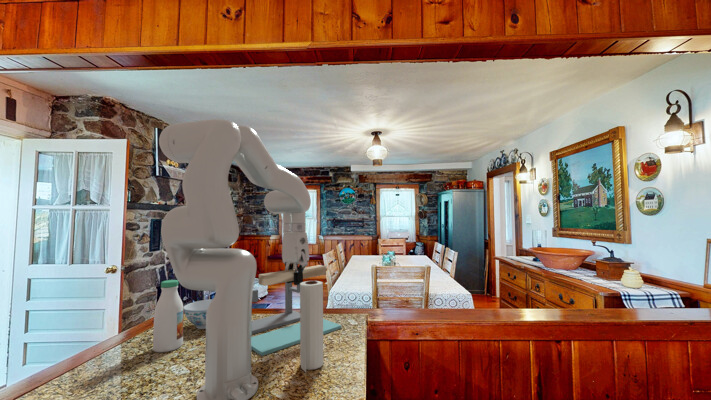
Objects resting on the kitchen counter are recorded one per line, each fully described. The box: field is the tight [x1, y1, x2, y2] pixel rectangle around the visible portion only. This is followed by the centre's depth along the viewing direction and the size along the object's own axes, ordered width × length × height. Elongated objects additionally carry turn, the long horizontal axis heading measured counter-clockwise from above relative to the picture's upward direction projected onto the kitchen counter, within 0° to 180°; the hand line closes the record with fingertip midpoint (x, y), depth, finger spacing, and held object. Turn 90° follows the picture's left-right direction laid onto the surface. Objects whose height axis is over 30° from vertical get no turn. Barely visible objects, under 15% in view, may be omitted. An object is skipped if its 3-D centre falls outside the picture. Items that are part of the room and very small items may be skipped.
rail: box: [258, 264, 327, 287], centre depth 102 cm, size 4×24×3 cm, turn 135°
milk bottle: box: [152, 279, 184, 353], centre depth 93 cm, size 8×8×20 cm
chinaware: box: [183, 298, 213, 330], centre depth 111 cm, size 15×15×8 cm
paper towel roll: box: [299, 280, 324, 373], centre depth 80 cm, size 7×6×21 cm
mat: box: [251, 318, 342, 357], centre depth 100 cm, size 13×30×1 cm, turn 135°
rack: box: [252, 265, 300, 336], centre depth 113 cm, size 10×24×20 cm, turn 135°
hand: (294, 282), depth 101 cm, fingers closed on rail, 3 cm apart
